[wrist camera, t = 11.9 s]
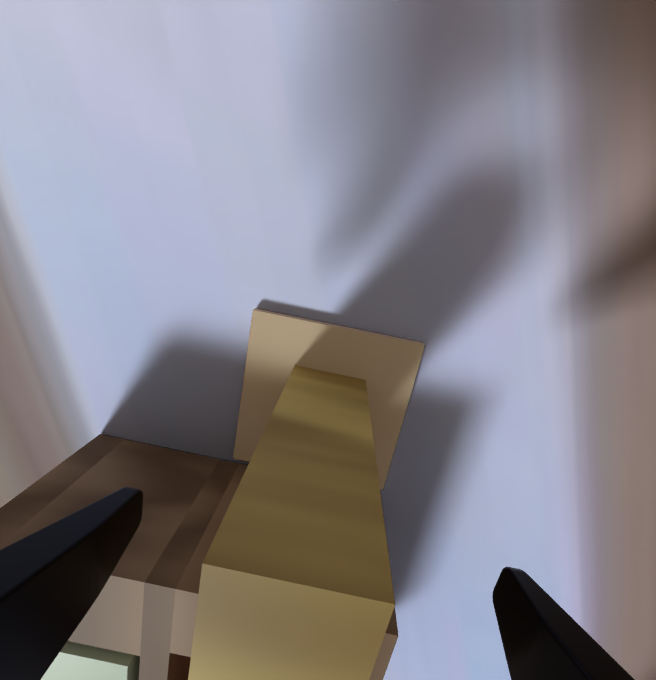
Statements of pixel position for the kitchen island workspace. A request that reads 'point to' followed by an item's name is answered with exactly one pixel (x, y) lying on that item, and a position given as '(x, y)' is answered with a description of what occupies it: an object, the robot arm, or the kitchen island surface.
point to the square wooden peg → (300, 547)
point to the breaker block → (146, 545)
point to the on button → (92, 664)
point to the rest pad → (331, 356)
